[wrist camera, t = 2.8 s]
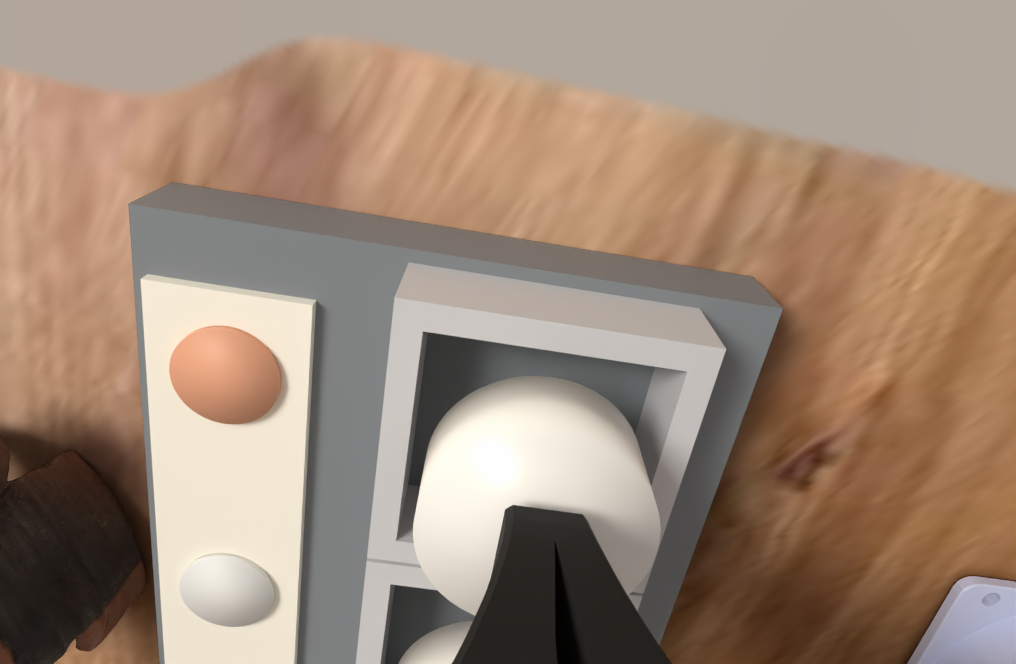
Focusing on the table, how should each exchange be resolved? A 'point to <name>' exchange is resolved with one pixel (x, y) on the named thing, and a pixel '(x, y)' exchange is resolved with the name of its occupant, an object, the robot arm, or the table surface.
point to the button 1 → (530, 481)
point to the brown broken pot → (62, 560)
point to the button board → (389, 406)
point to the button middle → (437, 645)
